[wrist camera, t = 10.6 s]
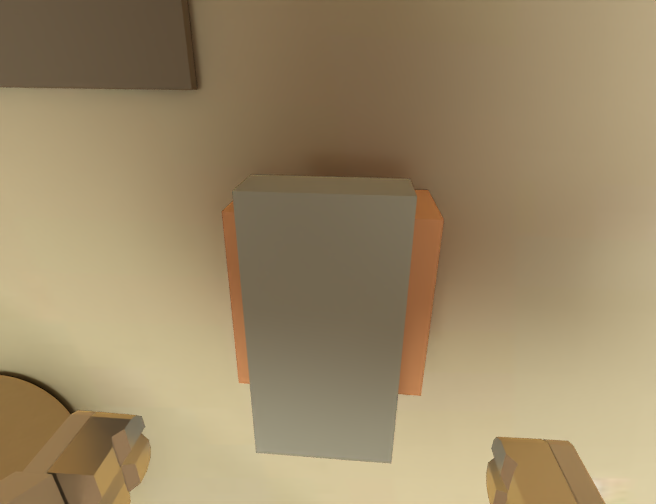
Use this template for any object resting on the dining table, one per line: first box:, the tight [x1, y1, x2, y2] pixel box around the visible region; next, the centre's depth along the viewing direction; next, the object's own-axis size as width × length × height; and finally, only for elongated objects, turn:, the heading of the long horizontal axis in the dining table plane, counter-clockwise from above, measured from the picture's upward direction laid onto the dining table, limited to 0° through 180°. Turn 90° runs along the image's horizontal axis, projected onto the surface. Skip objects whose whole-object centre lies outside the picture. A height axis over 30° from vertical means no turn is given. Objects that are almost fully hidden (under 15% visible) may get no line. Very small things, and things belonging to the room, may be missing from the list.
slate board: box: [232, 174, 417, 463], centre depth 15 cm, size 11×6×2 cm, turn 0°
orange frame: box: [222, 190, 444, 396], centre depth 18 cm, size 8×8×4 cm
